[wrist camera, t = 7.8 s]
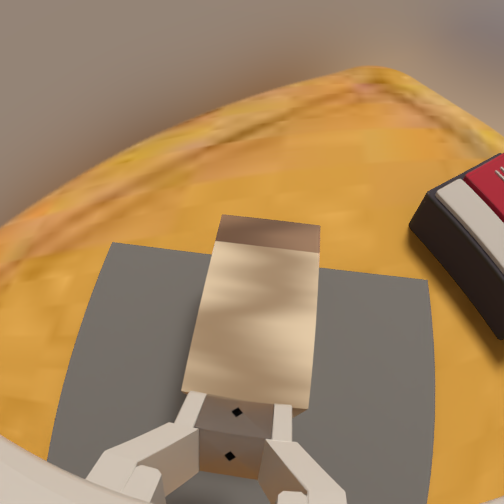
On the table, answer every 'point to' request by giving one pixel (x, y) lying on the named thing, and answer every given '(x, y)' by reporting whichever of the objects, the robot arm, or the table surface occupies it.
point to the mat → (321, 391)
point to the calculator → (470, 235)
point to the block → (258, 314)
